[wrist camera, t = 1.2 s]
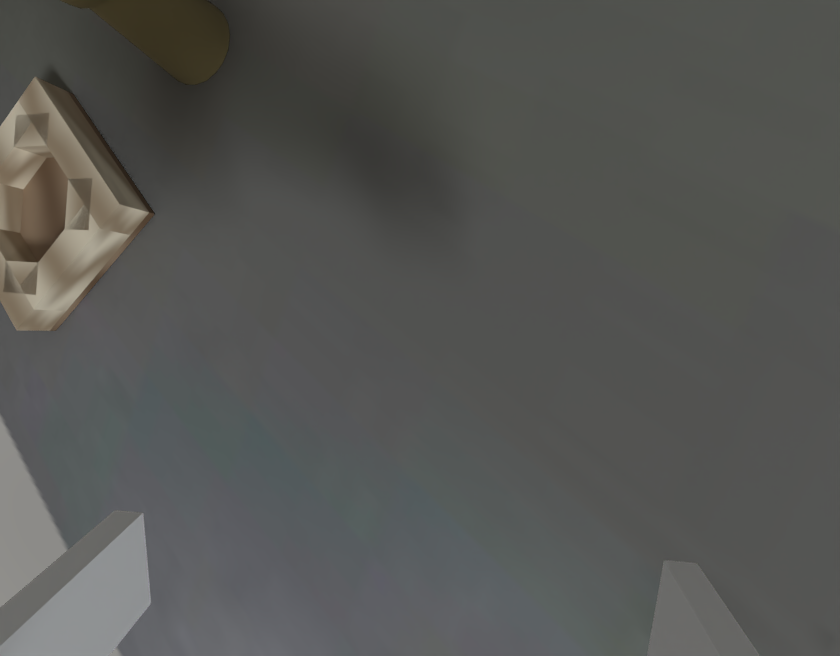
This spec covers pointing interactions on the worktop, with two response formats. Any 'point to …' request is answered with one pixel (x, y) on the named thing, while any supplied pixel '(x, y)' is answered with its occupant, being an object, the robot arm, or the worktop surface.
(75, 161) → the holder block
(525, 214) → the worktop surface
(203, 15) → the olive green peg
